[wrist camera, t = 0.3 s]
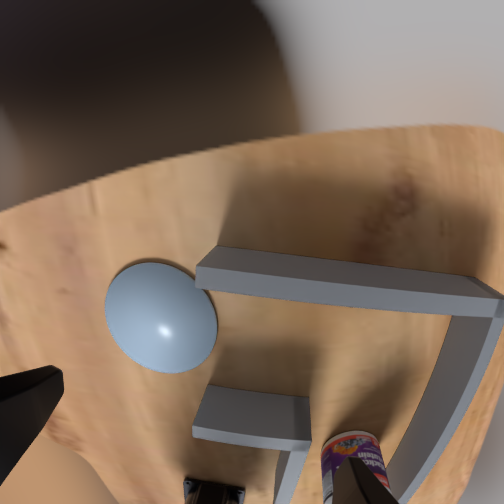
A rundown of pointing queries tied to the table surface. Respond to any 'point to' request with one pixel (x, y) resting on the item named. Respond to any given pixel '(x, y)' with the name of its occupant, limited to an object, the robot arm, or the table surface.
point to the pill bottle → (346, 446)
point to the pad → (161, 317)
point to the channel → (360, 296)
